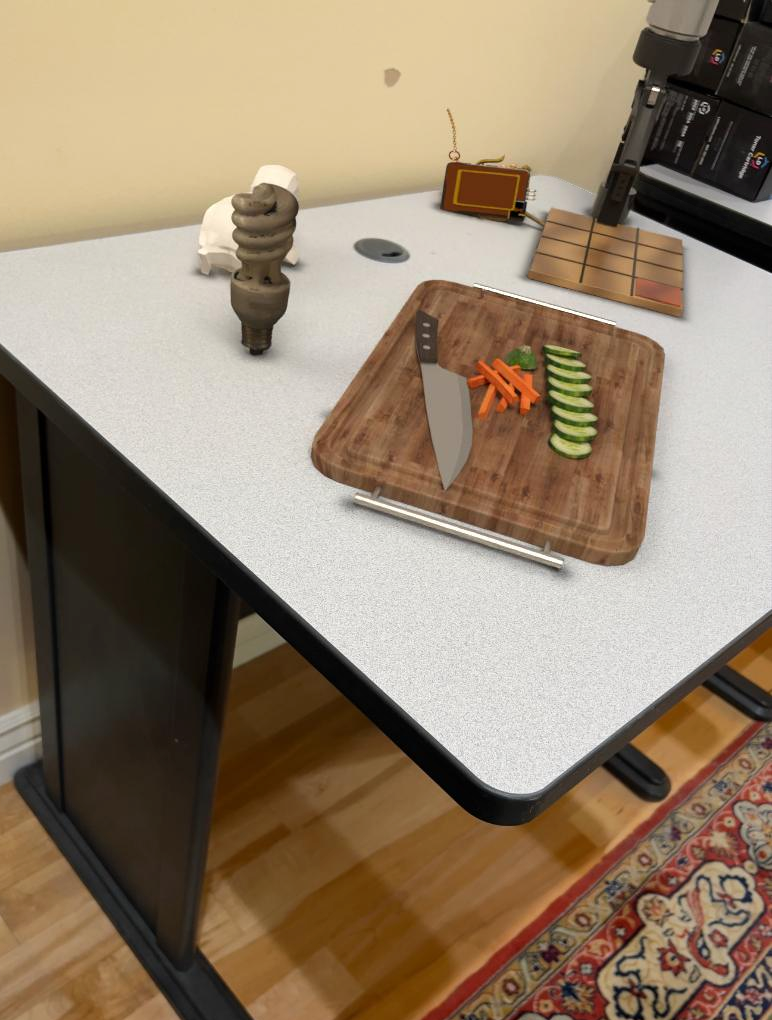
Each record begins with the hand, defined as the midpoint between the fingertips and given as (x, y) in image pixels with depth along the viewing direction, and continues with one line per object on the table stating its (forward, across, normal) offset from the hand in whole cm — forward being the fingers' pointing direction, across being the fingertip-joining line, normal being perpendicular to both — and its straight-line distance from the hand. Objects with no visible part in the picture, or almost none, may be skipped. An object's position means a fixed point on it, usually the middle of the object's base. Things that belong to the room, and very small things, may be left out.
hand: (609, 208), depth 124 cm
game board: (+1, +17, +1) cm, 17 cm away
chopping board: (+1, +60, -6) cm, 60 cm away
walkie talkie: (+2, +12, -13) cm, 18 cm away
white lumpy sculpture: (+2, +44, -37) cm, 57 cm away
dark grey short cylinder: (+1, 0, 0) cm, 1 cm away
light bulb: (+2, +63, -30) cm, 70 cm away
